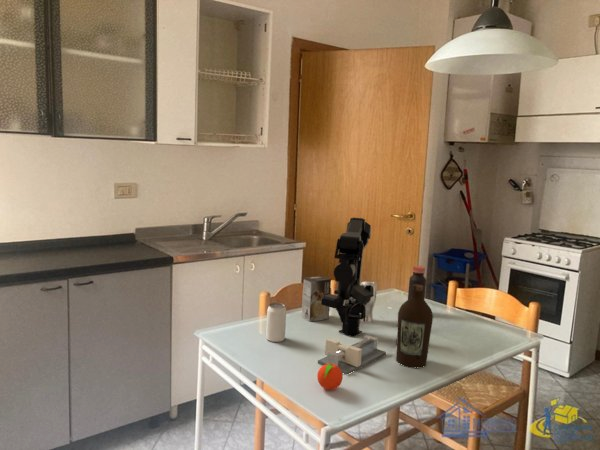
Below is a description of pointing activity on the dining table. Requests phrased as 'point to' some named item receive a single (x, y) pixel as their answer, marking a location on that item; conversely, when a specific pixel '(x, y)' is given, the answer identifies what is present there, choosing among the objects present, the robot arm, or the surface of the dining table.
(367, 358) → the rail board
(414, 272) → the bottle
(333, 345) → the cream flat bar
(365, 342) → the steel pipe
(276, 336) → the can
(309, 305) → the coffee box
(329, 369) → the clementine
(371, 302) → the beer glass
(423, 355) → the olive oil
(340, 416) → the dining table surface
